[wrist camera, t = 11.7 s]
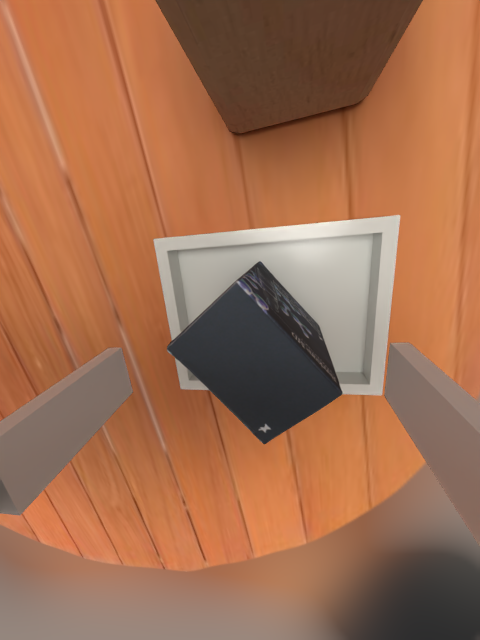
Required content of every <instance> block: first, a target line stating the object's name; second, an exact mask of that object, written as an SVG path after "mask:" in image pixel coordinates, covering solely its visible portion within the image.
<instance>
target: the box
mask: <svg viewBox="0 0 480 640" xmlns="http://www.w3.org/2000/svg"><path fill="white" fill-rule="evenodd" d="M167 351H168V352H169V353H170V354H171V355H173V356H174V357H175V358H176V359H177V360H178V361H180V362H181V363H182V364H183V365H184V366H185V367H186V368H187V369H188V370H189V371H190V372H191V373H192V374H193V375H194V376H195V377H196V378H197V379H198V380H199V381H201V382H202V383H203V384H204V385H205V386H206V387H207V388H208V389H209V390H210V391H211V392H212V393H213V394H214V395H215V396H216V397H217V398H218V399H219V400H220V401H221V402H222V403H223V404H224V405H225V406H226V407H227V408H228V409H229V410H230V411H231V412H233V414H234V415H235V416H236V417H237V418H238V419H239V420H240V421H241V422H242V423H243V424H244V425H245V426H246V427H247V428H248V429H249V430H250V431H251V432H252V433H253V434H254V435H255V436H256V437H257V438H258V439H259V440H260V441H261V442H262V443H263V444H266V443H267V442H269V441H270V440H272V439H273V438H275V437H276V436H278V435H280V434H281V433H283V432H284V431H286V430H287V429H289V428H291V427H292V426H294V425H296V424H297V423H299V422H301V421H302V420H304V419H305V418H307V417H309V416H310V415H312V414H313V413H315V412H317V411H318V410H320V409H321V408H323V407H324V406H326V405H327V404H329V403H330V402H332V401H333V400H335V399H336V398H338V397H339V396H341V395H342V393H343V392H342V390H341V387H340V384H339V381H338V378H337V375H336V372H335V369H334V366H333V363H332V360H331V358H330V355H329V352H328V349H327V347H326V344H325V341H324V338H323V335H322V332H321V330H320V327H319V325H318V324H317V323H316V322H315V321H314V319H313V318H312V317H311V316H310V315H309V314H308V313H307V312H306V311H305V310H304V309H303V308H302V306H301V305H300V304H299V303H298V302H297V301H296V300H295V299H294V298H293V297H292V296H291V294H290V293H289V292H288V291H287V290H286V289H285V288H284V287H283V286H282V285H281V284H280V282H279V281H278V280H277V279H276V278H275V277H274V276H273V274H272V273H270V271H269V270H268V269H267V268H266V267H265V266H264V264H263V263H262V262H261V261H259V262H257V263H256V264H255V265H254V266H253V267H252V268H251V269H249V270H248V271H247V272H246V273H245V274H243V275H242V276H241V277H240V278H239V279H237V280H236V281H235V282H234V283H233V284H232V285H231V286H230V287H229V288H228V289H227V290H226V291H224V292H223V293H222V294H221V295H220V296H219V297H218V298H217V299H216V300H215V301H214V302H213V303H212V304H211V305H210V306H209V307H207V308H206V309H205V310H204V311H203V312H202V313H201V314H200V315H199V316H198V317H197V318H196V319H195V320H194V321H193V322H192V323H191V324H190V325H188V326H187V327H186V328H185V329H184V330H183V331H182V332H181V333H180V334H179V335H178V336H177V337H176V338H175V339H174V340H172V341H171V342H170V343H169V345H168V346H167Z"/></svg>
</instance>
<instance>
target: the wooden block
mask: <svg viewBox="0 0 480 640" xmlns="http://www.w3.org/2000/svg"><path fill="white" fill-rule="evenodd" d="M422 1H423V0H156V2H157V4H158V6H159V7H160V9H161V11H162V13H163V14H164V16H165V18H166V20H167V21H168V23H169V25H170V27H171V29H172V30H173V32H174V34H175V36H176V37H177V39H178V41H179V43H180V44H181V46H182V48H183V50H184V51H185V53H186V55H187V57H188V59H189V60H190V62H191V64H192V66H193V67H194V69H195V71H196V73H197V74H198V76H199V78H200V80H201V82H202V83H203V85H204V87H205V89H206V90H207V92H208V94H209V96H210V97H211V99H212V101H213V103H214V105H215V106H216V108H217V110H218V112H219V113H220V115H221V117H222V119H223V120H224V122H225V124H226V126H227V127H228V129H229V131H231V132H235V133H244V132H247V131H251V130H255V129H259V128H263V127H267V126H271V125H275V124H279V123H283V122H287V121H291V120H295V119H298V118H302V117H306V116H310V115H314V114H318V113H322V112H326V111H330V110H334V109H338V108H342V107H346V106H349V105H353V104H357V103H358V102H360V101H361V100H362V99H364V98H365V97H366V96H368V94H369V93H370V91H371V89H372V87H373V86H374V84H375V82H376V81H377V79H378V77H379V75H380V74H381V72H382V70H383V68H384V67H385V65H386V63H387V61H388V60H389V58H390V56H391V54H392V53H393V51H394V49H395V48H396V46H397V44H398V42H399V41H400V39H401V37H402V35H403V34H404V32H405V30H406V28H407V27H408V25H409V23H410V21H411V20H412V18H413V16H414V15H415V13H416V11H417V9H418V8H419V6H420V4H421V2H422Z"/></svg>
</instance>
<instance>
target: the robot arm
mask: <svg viewBox="0 0 480 640" xmlns="http://www.w3.org/2000/svg"><path fill="white" fill-rule="evenodd" d="M132 393H133V390H132V386H131V382H130V378H129V374H128V371H127V367H126V363H125V359H124V355H123V351H122V348H108V349H106V350H105V351H103V352H102V353H100V354H99V355H97V356H96V357H94V358H93V359H91V360H90V361H88V362H87V363H86V364H84V365H83V366H81V367H80V368H78V369H77V370H75V371H74V372H72V373H71V374H69V375H68V376H66V377H65V378H63V379H62V380H60V381H59V382H58V383H56V384H55V385H53V386H52V387H50V388H49V389H47V390H46V391H44V392H43V393H41V394H40V395H38V396H37V397H35V398H34V399H32V400H31V401H30V402H28V403H27V404H25V405H24V406H22V407H21V408H19V409H18V410H16V411H15V412H13V413H12V414H10V415H9V416H7V417H6V418H4V419H3V420H2V421H0V513H3V514H12V515H21V514H22V513H23V512H24V511H25V509H26V508H27V507H28V506H29V505H30V504H31V503H32V502H33V501H34V500H35V499H36V497H37V496H38V495H39V494H40V493H41V492H42V491H43V490H44V489H45V488H46V487H47V485H48V484H49V483H50V482H51V481H52V480H53V479H54V478H55V477H56V476H57V475H58V473H59V472H60V471H61V470H62V469H63V468H64V467H65V466H66V465H67V464H68V463H69V461H70V460H71V459H72V458H73V457H74V456H75V455H76V454H77V453H78V452H79V450H80V449H81V448H82V447H83V446H84V445H85V444H86V443H87V442H88V441H89V440H90V438H91V437H92V436H93V435H94V434H95V433H96V432H97V431H98V430H99V429H100V428H101V426H102V425H103V424H104V423H105V422H106V421H107V420H108V419H109V418H110V417H111V416H112V414H113V413H114V412H115V411H116V410H117V409H118V408H119V407H120V406H121V405H122V404H123V402H124V401H125V400H126V399H127V398H128V397H129V396H130V395H131V394H132ZM384 396H385V398H386V399H387V401H388V402H389V404H390V405H391V407H392V409H393V410H394V412H395V413H396V415H397V417H398V418H399V420H400V421H401V423H402V424H403V426H404V428H405V429H406V431H407V432H408V434H409V436H410V437H411V439H412V440H413V442H414V443H415V445H416V447H417V448H418V450H419V451H420V453H421V454H422V456H423V458H424V459H425V461H426V462H427V464H428V466H429V467H430V469H431V470H432V472H433V473H434V475H435V476H436V478H437V480H438V481H439V483H440V484H441V486H442V488H443V489H444V491H445V492H446V494H447V495H448V497H449V499H450V500H451V502H452V503H453V505H454V506H455V508H456V510H457V511H458V513H459V514H460V516H461V518H462V519H463V521H464V522H465V524H466V526H467V527H468V529H469V530H470V532H471V533H472V535H473V537H474V538H475V540H476V541H477V543H478V545H479V546H480V403H479V402H478V401H476V400H475V399H474V398H473V397H472V396H471V395H469V394H468V393H467V392H466V391H465V390H464V389H463V388H461V387H460V386H459V385H458V384H457V383H456V382H454V381H453V380H452V379H451V378H450V377H449V376H447V375H446V374H445V373H444V372H443V371H442V370H440V369H439V368H438V367H437V366H436V365H435V364H434V363H432V362H431V361H430V360H429V359H428V358H427V357H425V356H424V355H423V354H422V353H421V352H420V351H418V350H417V349H416V348H415V347H414V346H413V345H412V344H410V343H390V350H389V359H388V368H387V377H386V386H385V395H384Z"/></svg>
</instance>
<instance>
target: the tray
mask: <svg viewBox="0 0 480 640" xmlns="http://www.w3.org/2000/svg"><path fill="white" fill-rule="evenodd" d="M399 223H400V215H396V216H386V217H376V218H365V219H355V220H344V221H334V222H324V223H313V224H303V225H293V226H282V227H272V228H262V229H251V230H241V231H230V232H220V233H210V234H199V235H189V236H179V237H168V238H158V239H153V240H154V245H155V251H156V256H157V262H158V267H159V273H160V278H161V284H162V289H163V295H164V300H165V306H166V311H167V317H168V322H169V328H170V333H171V339H172V340H174V339H175V338H176V337H177V336H178V335H179V334H180V333H181V332H182V331H183V330H184V329H185V328H186V327H187V326H188V325H190V324H191V323H192V322H193V321H194V320H195V319H196V318H197V317H198V316H199V315H200V314H201V313H202V312H203V311H204V310H205V309H206V308H207V307H209V306H210V305H211V304H212V303H213V302H214V301H215V300H216V299H217V298H218V297H219V296H220V295H221V294H222V293H223V292H224V291H226V290H227V289H228V288H229V287H230V286H231V285H232V284H233V283H234V282H235V281H236V280H237V279H239V278H240V277H241V276H242V275H243V274H245V273H246V272H247V271H248V270H249V269H251V268H252V267H253V266H254V265H255V264H256V263H257V262H259V261H261V262H262V263H263V264H264V266H265V267H266V268H267V269H268V270H269V271H270V273H272V274H273V276H274V277H275V278H276V279H277V280H278V281H279V282H280V284H281V285H282V286H283V287H284V288H285V289H286V290H287V291H288V292H289V293H290V294H291V296H292V297H293V298H294V299H295V300H296V301H297V302H298V303H299V304H300V305H301V306H302V308H303V309H304V310H305V311H306V312H307V313H308V314H309V315H310V316H311V317H312V318H313V319H314V321H315V322H316V323H317V324H318V325H319V327H320V330H321V332H322V335H323V338H324V341H325V344H326V347H327V349H328V352H329V355H330V358H331V360H332V363H333V366H334V369H335V372H336V375H337V378H338V381H339V384H340V387H341V390H342V392H343V393H342V394H356V395H382V391H383V381H384V371H385V361H386V351H387V341H388V331H389V322H390V312H391V302H392V292H393V282H394V272H395V262H396V253H397V243H398V233H399ZM175 361H176V366H177V372H178V377H179V383H180V388H181V389H190V390H209V389H208V388H207V387H206V386H205V385H204V384H203V383H202V382H201V381H199V380H198V379H197V378H196V377H195V376H194V375H193V374H192V373H191V372H190V371H189V370H188V369H187V368H186V367H185V366H184V365H183V364H182V363H181V362H180V361H178V360H177V359H176V358H175Z"/></svg>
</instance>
